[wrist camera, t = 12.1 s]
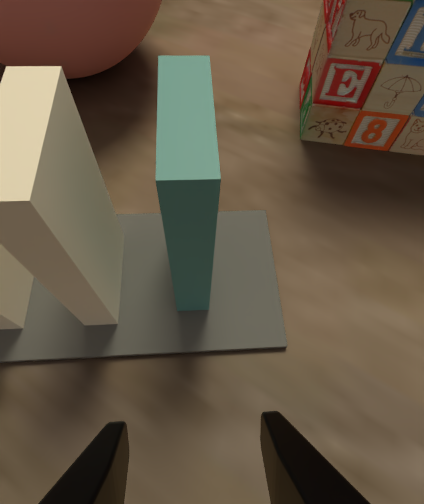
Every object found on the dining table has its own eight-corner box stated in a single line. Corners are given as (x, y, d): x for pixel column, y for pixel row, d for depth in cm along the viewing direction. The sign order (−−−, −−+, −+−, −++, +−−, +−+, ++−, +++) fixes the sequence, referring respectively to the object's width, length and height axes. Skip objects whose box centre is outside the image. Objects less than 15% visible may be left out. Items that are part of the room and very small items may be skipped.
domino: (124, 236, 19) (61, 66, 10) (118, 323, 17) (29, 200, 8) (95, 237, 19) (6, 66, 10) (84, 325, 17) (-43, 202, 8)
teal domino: (204, 226, 20) (209, 55, 11) (209, 309, 17) (220, 178, 8) (176, 226, 20) (158, 55, 11) (177, 311, 17) (155, 180, 8)
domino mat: (286, 347, 17) (287, 346, 17) (-313, 379, 15) (-322, 378, 15) (264, 213, 21) (265, 210, 20) (-217, 226, 19) (-223, 224, 19)
